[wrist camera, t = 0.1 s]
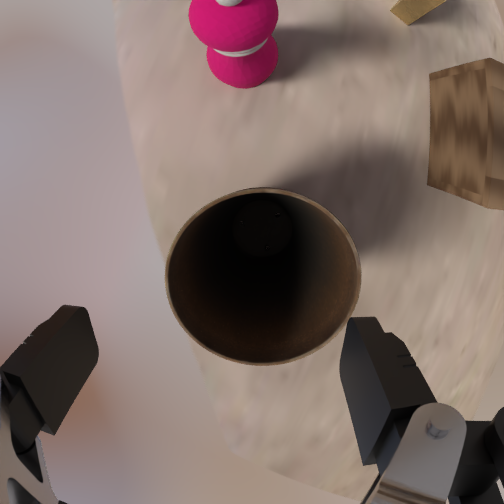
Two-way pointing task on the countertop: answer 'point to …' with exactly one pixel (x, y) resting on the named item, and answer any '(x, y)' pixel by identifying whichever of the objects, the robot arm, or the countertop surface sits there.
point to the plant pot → (263, 276)
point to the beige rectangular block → (414, 9)
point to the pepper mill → (237, 38)
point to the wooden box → (468, 132)
